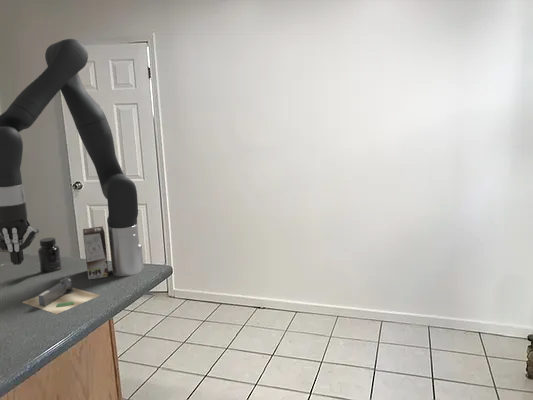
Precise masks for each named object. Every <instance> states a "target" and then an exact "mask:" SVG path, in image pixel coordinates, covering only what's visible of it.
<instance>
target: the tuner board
mask: <svg viewBox="0 0 533 400" xmlns="http://www.w3.org/2000/svg"><path fill="white" fill-rule="evenodd" d="M100 296H101V295H100V294H96V293H93V292H89V291H86V290H82V289H79V288H76V287H73V286H72V291H70V292H66V293H65V294H63V295H62V296H60V297H58V298H57V299H55V300H54V301H52V302H50V303H49V304H47V305H46V306H40V304H39V297H38V295H36V296H35V297H31V298H29V299H26V300H24V301H22V303H23V304H26V305H28V306H32V307H35V308H37V309H41V310H43V311H46V312H48V313H51V314H54V315H58V314H60V313H63V312H65V311H68V310H70V309H72V308H75V307H77V306H79V305H81V304H83V303H86V302H89V301H91V300H93V299H95V298H98V297H100Z"/></svg>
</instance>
